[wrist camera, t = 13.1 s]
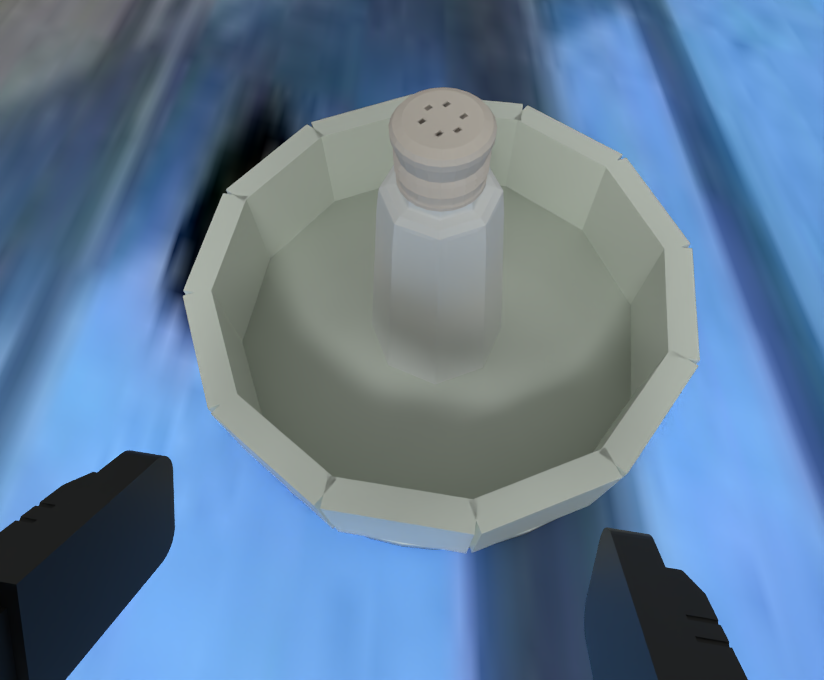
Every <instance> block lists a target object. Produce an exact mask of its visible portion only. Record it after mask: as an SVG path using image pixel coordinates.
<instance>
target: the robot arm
mask: <svg viewBox="0 0 824 680" xmlns="http://www.w3.org/2000/svg"><path fill="white" fill-rule="evenodd" d="M174 530H175V519H174V488H173V466H172V462H171V460H170V459H169V458H168V457H167V456H161V455H155V454H149V453H143V452H136V451H130V450H129V451H125V452H123V453H122V454H120V455H119V456H118V457H116V458H115V459H114V460H113V461H111V462H110V463H109V464H107V465H106V466H105V467H104V468H102V469H101V470H100V471H99V472H97V473H96V472H92V473H89V474H87V475H85V476H83V477H80V478H78V479H76V480H73V481H71V482H69V483H66V484H64V485H62V486H61V487H60V488H58V489H57V490H56V491H54V492H53V493H52V494H50V495H49V496H48V497H46V498H45V499H44V500H42V501H41V502H40V504H39V506H34V507H33V508H32V509H30V510H29V511H28V512H26V513H25V514H24V515H22V516H21V518H20V520H19V521H14V522H13V523H12V524H10V525H9V526H8V527H6V528H5V529H4V530H2V531H1V532H0V680H66V678H67V677H68V676H69V675H70V674H71V672H72V671H73V670H74V669H75V667H76V666H77V665H78V664H79V663H80V661H81V660H82V659H83V658H84V657H85V655H86V654H87V653H88V652H89V651H90V649H91V648H92V647H93V646H94V644H95V643H96V642H97V641H98V640H99V638H100V637H101V636H102V635H103V634H104V632H105V631H106V630H107V629H108V627H109V626H110V625H111V624H112V623H113V621H114V620H115V619H116V618H117V617H118V615H119V614H120V613H121V612H122V611H123V609H124V608H125V607H126V606H127V604H128V603H129V602H130V601H131V600H132V598H133V597H134V596H135V595H136V594H137V592H138V591H139V590H140V589H141V587H142V586H143V585H144V584H145V583H146V581H147V580H148V579H149V578H150V577H151V575H152V574H153V573H154V572H155V571H156V569H157V568H158V567H159V566H160V564H161V563H162V562H163V561H164V559H165V557H166V556H167V554H168V552H169V549H170V547H171V544H172V541H173V536H174ZM584 631H585V639H586V644H587V649H588V654H589V660H590V665H591V670H592V675H593V680H748V679H747V677H746V675H745V673H744V671H743V669H742V667H741V665H740V663H739V661H738V659H737V657H736V655H735V653H734V651H733V649H732V648H730V647H729V641H728V639H727V637H726V635H725V633H724V631H723V629H722V627H721V625H718V619H717V617H716V615H715V613H714V610H713V608H712V606H711V604H710V602H709V600H708V598H707V596H706V594H705V593H704V592H703V591H702V590H701V589H700V588H699V587H698V586H697V585H696V584H695V583H694V582H693V581H692V580H691V579H690V578H689V577H688V576H687V575H686V574H685V573H684V572H683V571H682V570H678V569H672V568H666V567H665V565H664V563H663V560H662V558H661V556H660V553H659V551H658V549H657V546H656V544H655V542H654V540H653V538H652V536H651V535H649V534H643V533H637V532H631V531H625V530H618V529H612V528H605V529H604V530H603V532H602V534H601V537H600V541H599V545H598V550H597V554H596V558H595V563H594V567H593V571H592V576H591V580H590V584H589V588H588V593H587V597H586V603H585V612H584Z"/></svg>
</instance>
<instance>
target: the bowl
mask: <svg viewBox="0 0 824 680" xmlns="http://www.w3.org/2000/svg"><path fill="white" fill-rule="evenodd" d="M411 95H413V94H411ZM411 95H408V96H404V97H401V98H397V99H393V100H390V101H386V102H383V103H379V104H375V105H372V106H368V107H364V108H361V109H357V110H354V111H350V112H346V113H343V114H339V115H336V116H332V117H328V118H325V119H321V120H317V121H314V122H311V123H312V127H310V126H309V125H306V126H304V127H303V128H302V129H301V130H299V131H298V132H297V133H296V134H294V135H293V136H292V137H291V138H289V139H288V140H287V141H286V142H284V143H283V144H282V145H281V146H279V147H278V148H277V149H276V150H275V151H273V152H272V153H271V154H270V155H268V156H267V157H266V158H265V159H263V160H262V161H261V162H260V163H258V164H257V165H256V166H255V167H253V168H252V169H251V170H250V171H248V172H247V173H246V174H245V175H244V176H242V177H241V178H240V179H239V180H237V181H236V182H235V183H234V184H232V185H231V186H230V187H229V188H227V189H226V190H227V193H228V194H224V193H223V195H222V197H221V200H220V202H219V205H218V207H217V210H216V212H215V215H214V217H213V219H212V222H211V224H210V227H209V229H208V232H207V234H206V237H205V239H204V241H203V244H202V246H201V249H200V251H199V254H198V256H197V258H196V261H195V263H194V266H193V268H192V271H191V273H190V276H189V278H188V280H187V283H186V285H185V288H184V290H183V291H184V292H185V294H186V295H184V296H183V299H184V303H185V308H186V312H187V317H188V321H189V326H190V330H191V335H192V339H193V344H194V348H195V353H196V357H197V362H198V366H199V371H200V375H201V380H202V384H203V389H204V393H205V398H206V402H207V407H208V409H209V410H210V411H211V412H212V413H211V414H212V415H213V416H214V417H215V419H216V420H217V421H218V422H219V423H220V424H221V425H222V426H223V427H224V428H225V429H226V430H227V431H228V432H229V433H230V434H231V436H232V437H233V438H234V439H235V440H236V441H237V442H238V443H239V444H240V445H241V446H242V447H243V448H244V449H245V450H246V451H247V452H248V453H249V454H250V455H251V456H252V457H253V458H255V459H256V460H257V461H258V462H259V463H260V464H261V465H262V466H263V467H265V468H266V469H267V470H268V471H269V472H270V473H271V474H272V475H273V476H275V477H276V478H277V479H278V480H279V481H280V482H281V483H282V484H283V485H285V486H286V487H287V489H288V490H289V491H290V492H291V493H292V494H293V495H295V496H296V497H297V498H298V499H300V500H301V501H302V502H303V503H305V504H306V505H307V506H308V507H309V508H310V509H311V510H312V511H313V512H315V513H316V514H317V515H318V516H319V517H320V518H321V519H322V520H323V521H325V522H326V523H327V524H328V525H329V526H330V527H331V528H332V529H333V528H334V527H335V528H336V529H337V531H338V532H344V533H350V534H356V535H361V536H365V537H368V538H370V539H374V540H378V541H382V542H386V543H390V544H394V545H398V546H402V547H412V548H422V549H432V550H441V549H443V550H449V551H454V552H460V553H466V552H467V550H468V548H470V549H471V551H472V553H473V552H475V551H478V550H480V549H483V548H485V547H488V546H490V545H493V544H495V543H499V542H502V541H505V540H508V539H512V538H515V537H518V536H521V535H524V534H527V533H529V532H531V531H533V530H535V529H537V528H539V527H541V526H543V525H545V524H547V523H549V522H551V521H553V520H555V519H557V518H559V517H562V516H564V515H567V514H569V513H572V512H574V511H577V510H579V509H582V508H584V507H586V506H589V505H590V504H591V503H593V502H594V501H595V500H596V499H598V498H599V497H600V496H601V495H602V494H604V493H605V492H606V491H607V490H608V489H610V488H611V487H612V486H613V485H614V484H615V483H617V482H618V481H619V480H620V479H621V478H623V477H624V476H625V475H626V474H627V473H628V472H629V470H630V469H631V467H632V466H633V464H634V463H635V461H636V460H637V458H638V457H639V455H640V454H641V452H642V451H643V449H644V448H645V446H646V445H647V443H648V442H649V440H650V439H651V437H652V435H653V434H654V432H655V431H656V429H657V428H658V426H659V425H660V423H661V422H662V420H663V419H664V417H665V416H666V414H667V413H668V411H669V410H670V408H671V407H672V405H673V404H674V402H675V401H676V399H677V398H678V396H679V394H680V393H681V391H682V390H683V388H684V387H685V385H686V384H687V382H688V381H689V379H690V378H691V376H692V375H693V373H694V372H695V370H696V369H697V367H698V365H696V364H697V363H698V362H699V361H700V357H699V342H698V327H697V312H696V297H695V283H694V268H693V253H692V248H688V246H689V245H690V243H689V241H688V240H687V239H686V237H685V236H684V235H683V233H682V232H681V231H680V229H679V228H678V226H677V225H676V224H675V222H674V221H673V220H672V218H671V217H670V216H669V214H668V213H667V212H666V210H665V209H664V208H663V206H662V205H661V204H660V202H659V201H658V200H657V198H656V197H655V196H654V194H653V193H652V192H651V190H650V189H649V188H648V186H647V185H646V183H645V182H644V181H643V179H642V178H641V177H640V175H639V174H638V173H637V171H636V170H635V169H634V167H633V166H632V165H631V163H630V162H629V161H628V159H627V158H624V159H621V157H622V154H620V153H619V152H617V151H615V150H613V149H611V148H609V147H607V146H605V145H603V144H601V143H599V142H597V141H595V140H593V139H592V138H590V137H588V136H586V135H584V134H582V133H580V132H578V131H576V130H574V129H572V128H570V127H568V126H566V125H564V124H563V123H561V122H559V121H557V120H555V119H553V118H551V117H549V116H547V115H545V114H543V113H541V112H539V111H537V110H535V109H534V108H532V107H530V106H527V107H526V108H525V109H524V110H522V108H523V104H517V103H507V102H496V101H486V100H482V101H483V102H484V103H485V104H486V105H487V106H488V107H489V108H490V110H491V111H492V113H493V114H494V116H495V119H496V123H497V133H496V139H495V143H494V145H493V147H492V149H491V159H490V166H489V167H490V169H491V170H492V172H493V174H494V176H495V177H496V179H497V181H498V182H499V184H500V186H501V188H502V189H503V196H504V234H503V275H502V315H501V328H500V330H499V333H498V335H497V337H496V339H495V342H494V344H493V346H492V348H491V351H490V353H489V355H488V357H487V360H486V362H485V364H484V366H483V368H481V369H478V370H475V371H472V372H469V373H466V374H463V375H461V376H458V377H455V378H452V379H449V380H446V381H443V382H441V383H438V384H433V383H430V382H428V381H425V380H423V379H421V378H418V377H416V376H413V375H411V374H408V373H406V372H404V371H401V370H399V369H396V368H394V367H392V366H389V365H388V363H387V361H386V358H385V356H384V353H383V350H382V348H381V345H380V343H379V340H378V337H377V335H376V332H375V330H374V327H373V324H372V312H373V287H374V261H375V235H376V209H377V198H378V190H379V187H380V186H381V184H382V182H383V181H384V179H385V178H386V176H387V175H388V173H389V171H390V170H391V168H392V167H393V165H394V161H393V147H392V145H391V142H390V137H389V127H388V125H389V122H390V118H391V115H392V114H393V112H394V111H395V109H396V108H397V107H398V106H399V105H400V104H401V103H402V102H403V101H404V100H405V99H407V98H408V97H409V96H411Z"/></svg>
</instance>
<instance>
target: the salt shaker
mask: <svg viewBox="0 0 824 680" xmlns="http://www.w3.org/2000/svg"><path fill="white" fill-rule="evenodd" d="M388 127H389V137H390V142H391V145H392V147H393V161H394V165H393V167H392V168H391V170H390V171H389V173H388V175H387V176H386V178H385V179H384V181H383V182H382V184H381V186H380V187H379V190H378V198H377V209H376V235H375V261H374V287H373V312H372V324H373V327H374V330H375V332H376V335H377V337H378V340H379V343H380V345H381V348H382V350H383V353H384V356H385V358H386V361H387V363H388V365H389V366H392V367H394V368H396V369H399V370H401V371H404V372H406V373H408V374H411V375H413V376H416V377H418V378H421V379H423V380H425V381H428V382H430V383H433V384H438V383H441V382H443V381H446V380H449V379H452V378H455V377H458V376H461V375H463V374H466V373H469V372H472V371H475V370H478V369H481V368H483V366H484V364H485V362H486V360H487V357H488V355H489V353H490V351H491V348H492V346H493V344H494V342H495V339H496V337H497V335H498V333H499V330H500V328H501V315H502V275H503V234H504V196H503V189H502V188H501V186H500V184H499V182H498V181H497V179H496V177H495V176H494V174H493V172H492V170H491V169H490V167H489V166H490V159H491V149H492V147H493V145H494V143H495V139H496V133H497V123H496V119H495V116H494V114H493V113H492V111H491V110H490V108H489V107H488V106H487V105H486V104H485V103H484V102H483V101H482V100H481V99H479V98H478V97H476V96H474V95H473V94H471V93H469V92H466V91H463V90H459V89H455V88H445V87H442V88H431V89H427V90H423V91H420V92H417V93H415V94H413V95H411V96H409V97H408V98H407V99H405V100H404V101H403V102H402V103H401V104H400V105H399V106H398V107H397V108H396V109H395V111H394V112H393V114H392V115H391V118H390V122H389V125H388Z"/></svg>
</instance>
